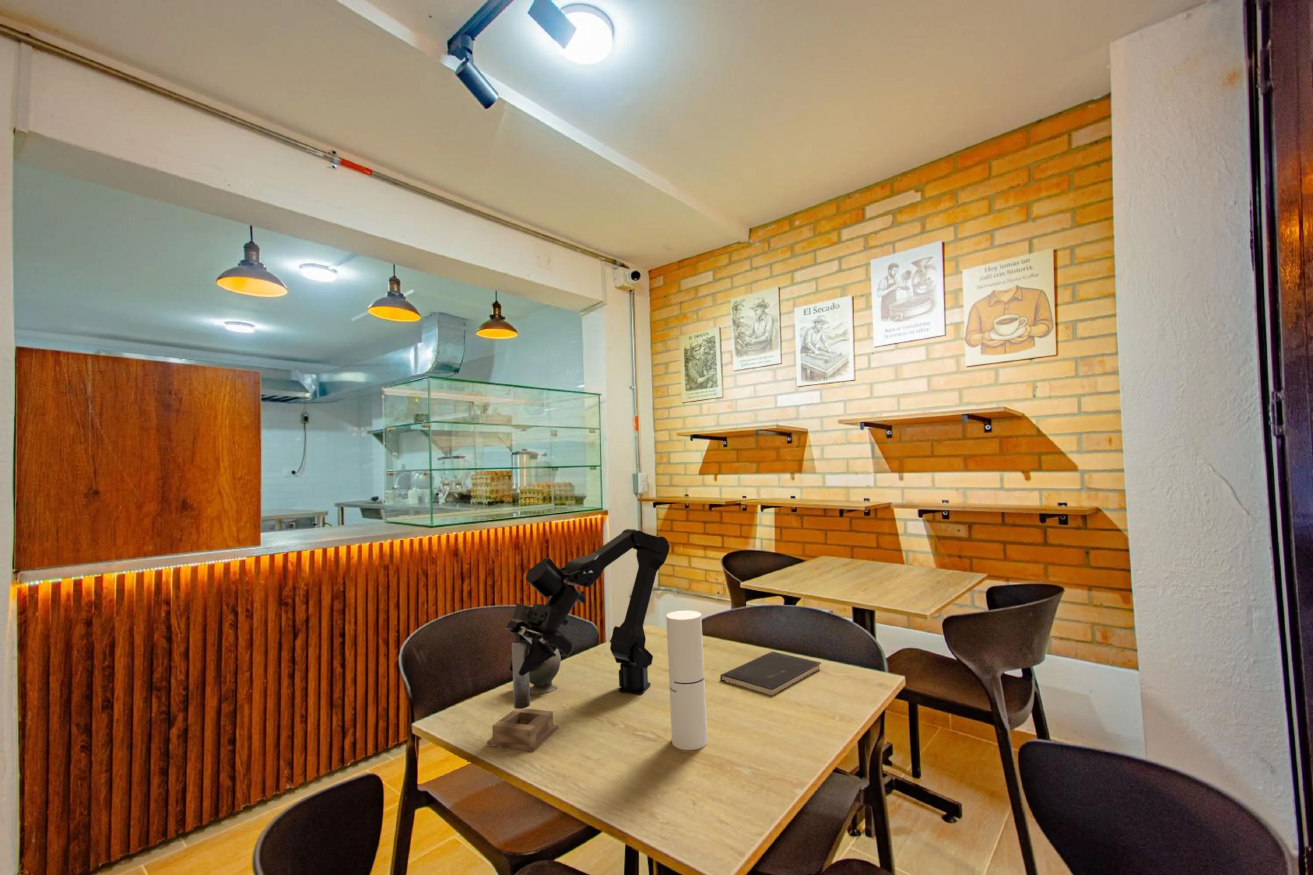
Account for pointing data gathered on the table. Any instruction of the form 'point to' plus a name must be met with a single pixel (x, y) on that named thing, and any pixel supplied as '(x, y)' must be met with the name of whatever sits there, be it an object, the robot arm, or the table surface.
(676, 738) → the cylindrical container
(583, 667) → the table surface
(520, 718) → the socket board
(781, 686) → the hardcover book
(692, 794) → the table surface
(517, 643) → the steel pin
